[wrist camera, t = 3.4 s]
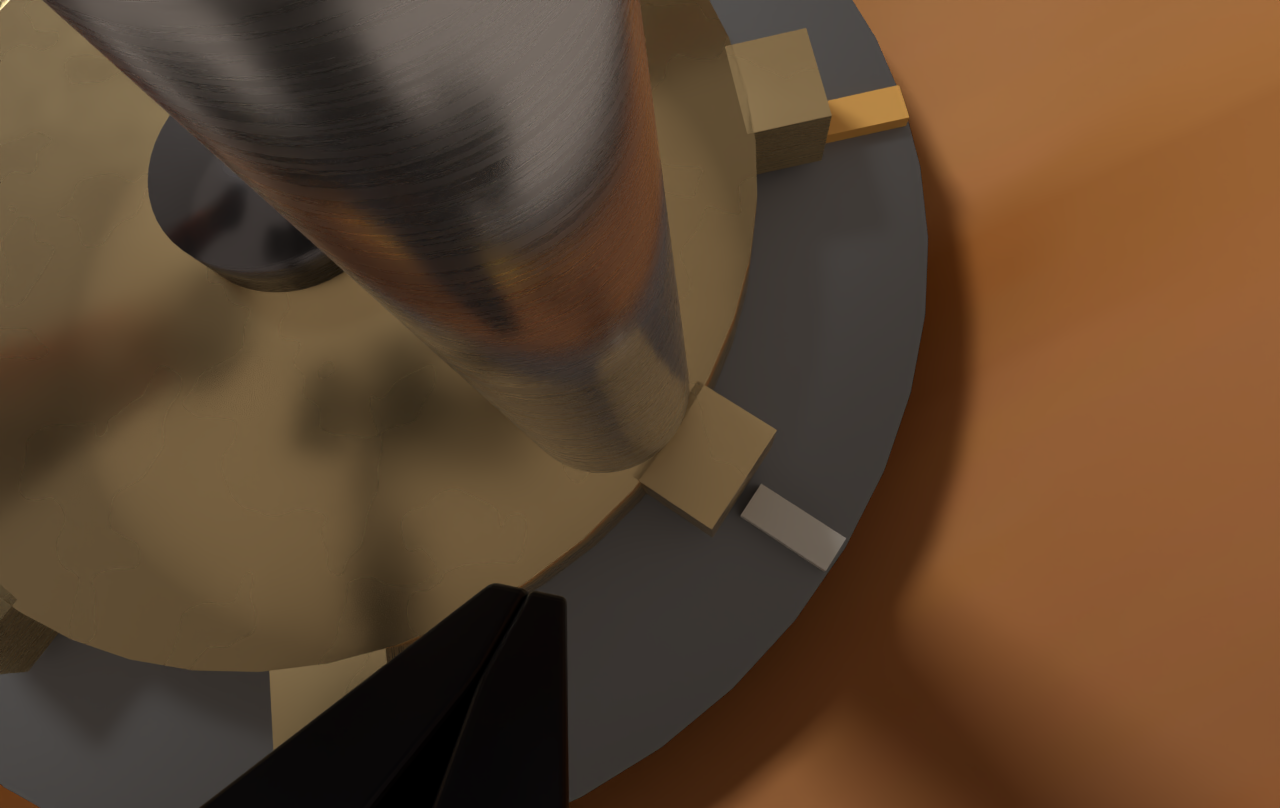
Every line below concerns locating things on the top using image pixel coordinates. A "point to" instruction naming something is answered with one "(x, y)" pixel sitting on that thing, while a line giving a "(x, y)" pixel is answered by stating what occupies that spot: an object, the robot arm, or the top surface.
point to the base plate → (651, 532)
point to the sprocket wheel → (363, 310)
